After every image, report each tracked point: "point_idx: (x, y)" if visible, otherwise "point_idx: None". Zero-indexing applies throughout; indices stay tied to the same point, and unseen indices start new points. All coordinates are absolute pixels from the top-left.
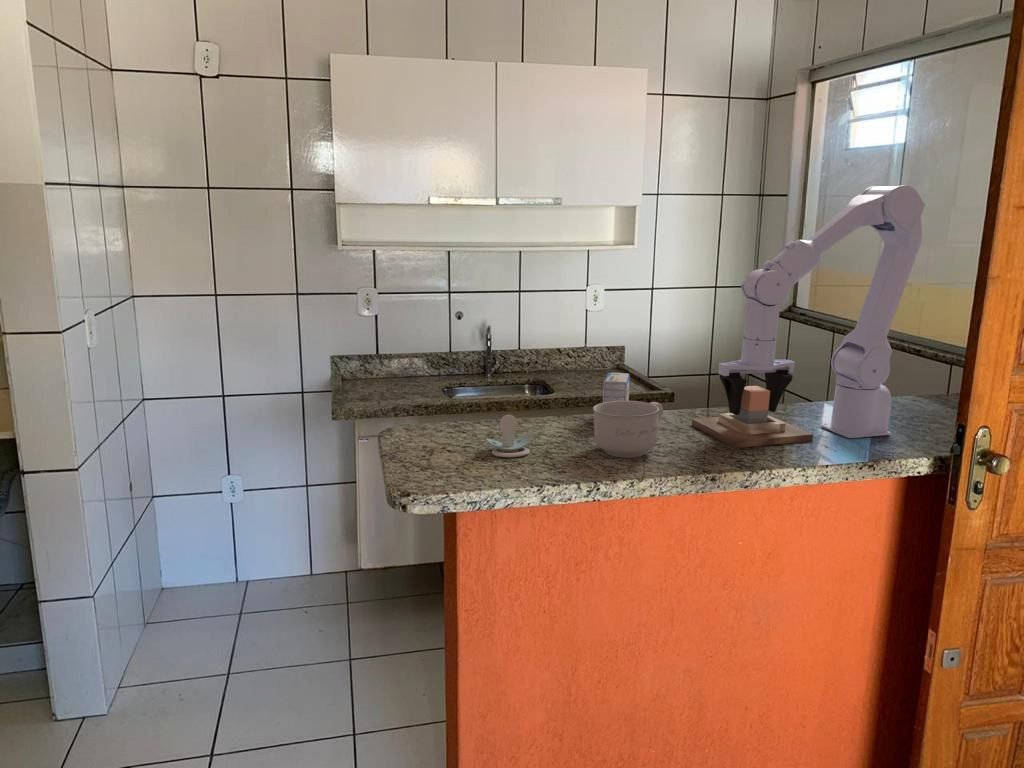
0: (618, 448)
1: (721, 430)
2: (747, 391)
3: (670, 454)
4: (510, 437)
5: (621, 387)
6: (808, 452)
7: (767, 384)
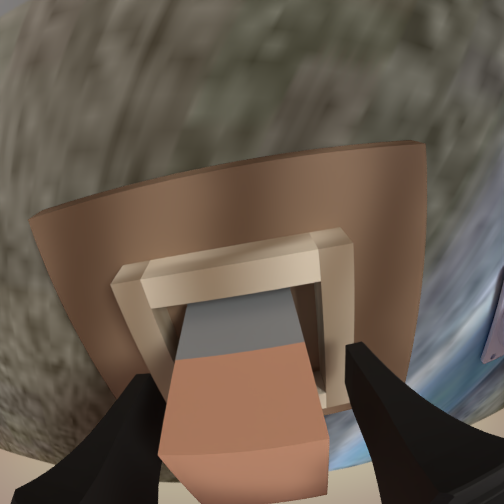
0: None
1: (115, 364)
2: (195, 493)
3: (17, 410)
4: None
5: None
6: None
7: (398, 445)
